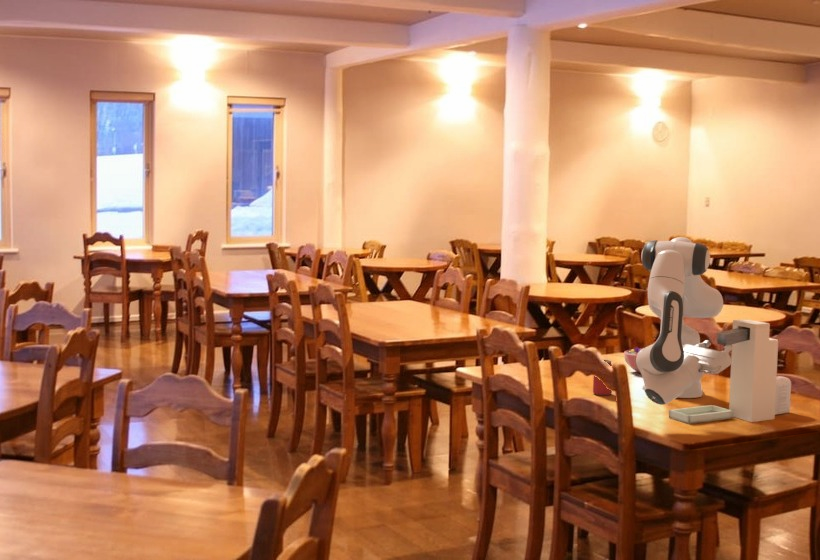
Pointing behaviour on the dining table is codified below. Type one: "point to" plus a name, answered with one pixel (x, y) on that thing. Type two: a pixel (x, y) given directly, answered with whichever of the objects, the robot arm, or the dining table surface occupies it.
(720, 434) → the dining table surface
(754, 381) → the white dispenser tower
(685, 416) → the tray
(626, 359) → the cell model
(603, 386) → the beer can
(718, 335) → the drive caddy
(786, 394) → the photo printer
